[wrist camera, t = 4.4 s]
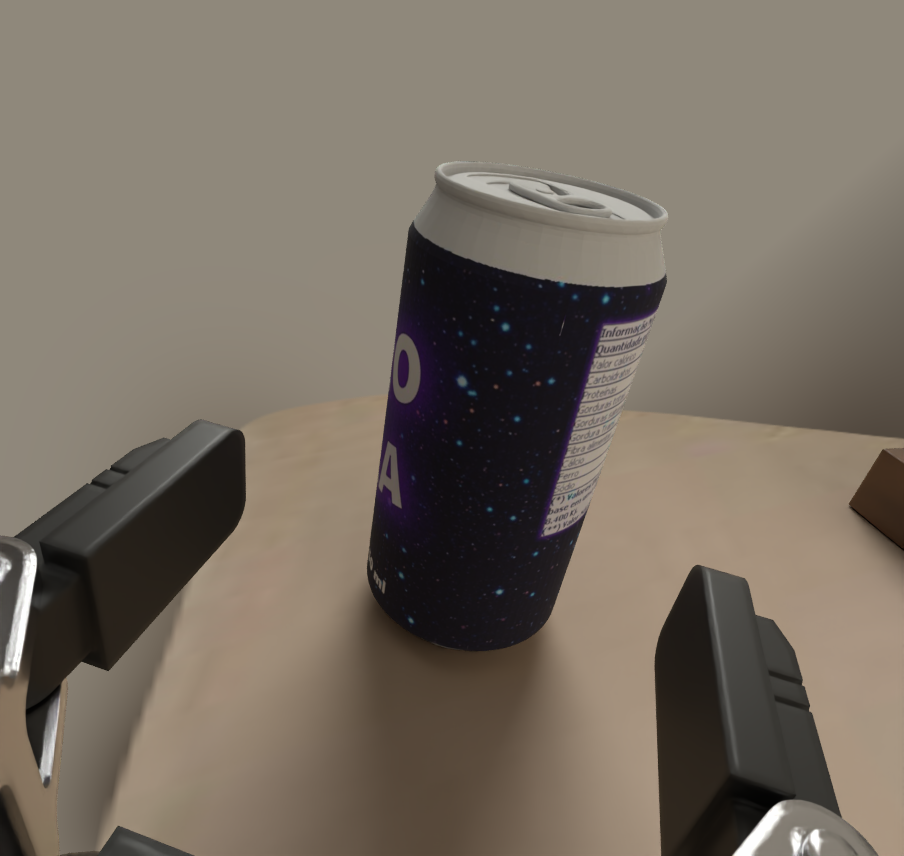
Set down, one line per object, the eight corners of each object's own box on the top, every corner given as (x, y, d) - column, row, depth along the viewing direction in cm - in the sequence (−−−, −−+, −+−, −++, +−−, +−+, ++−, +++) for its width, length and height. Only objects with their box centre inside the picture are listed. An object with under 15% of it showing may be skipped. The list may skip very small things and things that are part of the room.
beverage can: (479, 516, 23) (562, 164, 16) (585, 630, 19) (745, 227, 13) (333, 560, 20) (368, 149, 13) (425, 707, 16) (533, 227, 10)
